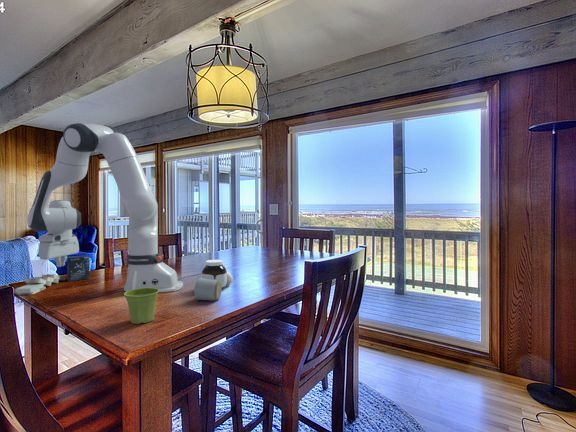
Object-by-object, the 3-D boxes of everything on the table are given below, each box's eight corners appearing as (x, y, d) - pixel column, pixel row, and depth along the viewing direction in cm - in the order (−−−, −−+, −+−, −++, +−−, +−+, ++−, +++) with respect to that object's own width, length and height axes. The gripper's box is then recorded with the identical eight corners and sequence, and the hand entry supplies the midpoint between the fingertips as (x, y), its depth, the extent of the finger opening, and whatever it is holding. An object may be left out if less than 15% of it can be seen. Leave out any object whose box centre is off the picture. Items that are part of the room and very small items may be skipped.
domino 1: (51, 282, 131) (40, 278, 124) (50, 286, 131) (39, 282, 123) (38, 282, 131) (26, 278, 123) (37, 286, 130) (25, 282, 123)
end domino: (65, 276, 141) (54, 274, 134) (64, 280, 141) (53, 278, 133) (53, 277, 141) (41, 274, 133) (52, 280, 140) (41, 278, 133)
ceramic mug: (216, 303, 109) (216, 281, 109) (193, 302, 110) (193, 280, 110) (224, 295, 120) (225, 275, 120) (204, 294, 121) (204, 274, 121)
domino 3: (45, 286, 127) (32, 292, 119) (45, 290, 127) (32, 296, 119) (31, 287, 126) (17, 292, 118) (32, 291, 126) (17, 296, 118)
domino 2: (43, 283, 126) (30, 288, 118) (43, 287, 126) (30, 292, 118) (29, 283, 125) (15, 288, 117) (29, 287, 125) (15, 293, 117)
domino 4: (58, 279, 137) (47, 276, 129) (58, 283, 136) (47, 280, 129) (46, 279, 136) (34, 277, 128) (45, 283, 135) (33, 281, 128)
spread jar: (199, 291, 124) (199, 262, 124) (206, 284, 135) (206, 257, 135) (229, 291, 124) (229, 262, 124) (234, 284, 136) (234, 258, 135)
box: (69, 281, 138) (69, 258, 138) (66, 279, 142) (66, 256, 142) (90, 279, 144) (89, 256, 143) (87, 277, 148) (86, 254, 148)
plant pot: (116, 324, 90) (116, 293, 89) (142, 313, 98) (142, 286, 98) (141, 328, 86) (141, 297, 86) (166, 317, 95) (166, 289, 95)
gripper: (69, 233, 153) (70, 262, 153) (35, 238, 132) (35, 270, 133) (82, 234, 152) (82, 262, 153) (50, 238, 132) (50, 270, 132)
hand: (60, 266), depth 143 cm, fingers closed
